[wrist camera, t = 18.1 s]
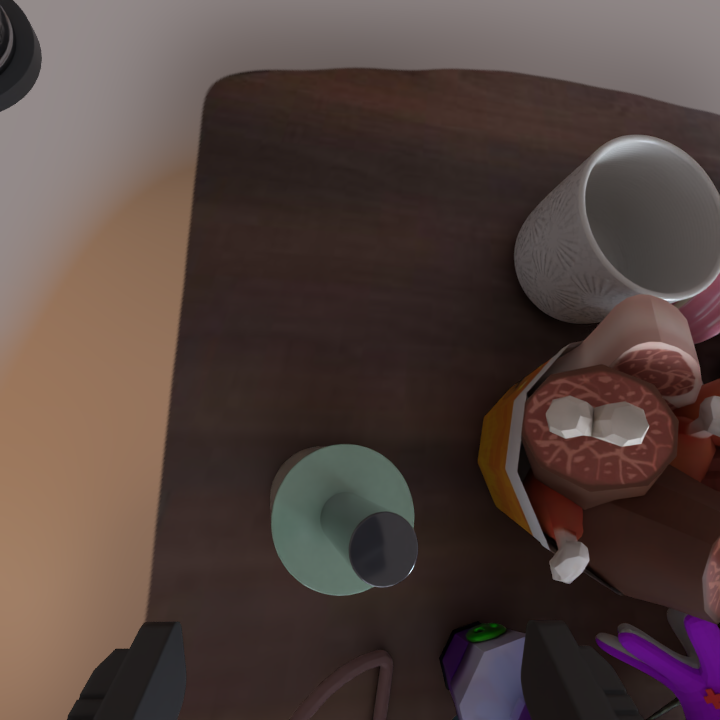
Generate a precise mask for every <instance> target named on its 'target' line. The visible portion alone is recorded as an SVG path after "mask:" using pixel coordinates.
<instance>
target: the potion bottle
mask: <svg viewBox="0 0 720 720" xmlns="http://www.w3.org/2000/svg"><path fill="white" fill-rule="evenodd" d="M525 635H526V634H525V633H521V632H517V631H514V630H510V629H506V628H505V627H504V626H503V625H501V624H497V623H483V624H482V623H480V622H479V621H477V622H474V623H472V624H469V625H466V626H463V627H461V628H458V629H455V630H453V631H452V633H451V635H450V637H449V639H448V641H447V643H446V645H445V647H444V649H443V651H442V654H441V656H440V658H439V659H440V664H441V668H442V672H443V677H444V681H445V686H446V689H448V690H449V691H450V693H451V696H452V698H453V701H454V704H455V707H456V712H457V716H458V720H531V717H530V714H529V712H528V709H527V706H526V703H525V700H524V696H523V692H522V686H521V665H522V657H523V650H524V642H525Z"/></svg>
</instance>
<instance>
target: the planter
mask: <svg viewBox="0 0 720 720" xmlns="http://www.w3.org/2000/svg"><path fill="white" fill-rule="evenodd" d="M514 264H515V270H516V274H517V277H518V280H519V282H520V285H521V287H522V289H523V290H524V292H525V294H526V295H527V296H528V298H529V299H530V300H531V301H532V302H533V303H534V304H535V305H536V306H537V307H538V308H539V309H540V310H541V311H543V312H544V313H546V314H547V315H549V316H551V317H553V318H555V319H558V320H560V321H564V322H568V323H574V324H590V323H598V322H602V321H603V319H604V318H605V317H606V316H607V315H608V314H609V313H610V311H611V310H612V309H613V308H614V307H615V306H616V305H617V304H619V303H620V302H622V301H623V300H625V299H626V298H628V297H632V296H635V295H638V294H645V295H652V296H655V297H658V298H661V299H664V300H666V301H667V302H669V303H670V304H671V303H674V302H677V301H681V300H684V299H688V298H690V297H693V296H695V295H697V294H699V293H701V292H702V291H703V290H705V289H706V288H707V287H708V286H710V285H711V284H712V282H713V281H714V280H715V279H716V277H717V276H718V274H719V273H720V195H719V193H718V191H717V189H716V187H715V185H714V184H713V182H712V181H711V179H710V178H709V176H708V175H707V174H706V172H705V171H704V170H703V169H702V167H701V166H700V165H699V164H698V163H697V162H696V161H695V160H694V159H693V158H692V157H691V156H689V155H688V154H687V153H686V152H684V151H683V150H681V149H680V148H678V147H677V146H675V145H673V144H671V143H669V142H667V141H665V140H662V139H659V138H656V137H652V136H647V135H626V136H621V137H618V138H615V139H612V140H610V141H609V142H607V143H605V144H604V145H602V146H601V147H599V148H598V149H597V150H596V151H595V152H594V153H593V154H592V155H591V156H590V157H588V158H587V159H586V160H585V161H584V162H583V163H582V164H581V165H580V166H579V167H577V168H576V169H575V170H574V171H573V172H572V173H571V174H570V175H569V176H568V177H566V178H565V179H564V180H563V181H562V182H561V183H560V184H559V185H558V186H557V187H556V188H555V189H553V190H552V191H551V192H550V193H549V194H548V195H547V196H546V197H545V198H544V199H543V200H542V201H541V202H540V203H539V204H538V205H537V207H536V208H535V209H534V210H533V211H532V213H531V214H530V215H529V216H528V217H527V219H526V220H525V222H524V224H523V225H522V227H521V229H520V231H519V233H518V236H517V239H516V243H515V249H514Z"/></svg>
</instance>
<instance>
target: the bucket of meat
mask: <svg viewBox="0 0 720 720" xmlns="http://www.w3.org/2000/svg"><path fill="white" fill-rule="evenodd" d="M478 464H479V467H480V469H481V472H482V474H483V477H484V479H485V481H486V484H487V486H488V489H489V491H490V494H491V496H492V498H493V501H494V503H495V506H496V507H497V508H498V509H500V510H501V511H502V512H503V513H505V514H506V515H507V516H508V517H510V518H511V519H512V520H513V521H515V522H516V523H517V524H518V525H520V526H521V527H522V528H523V529H525V530H526V531H527V532H528V533H530V534H531V535H532V536H533V537H535V538H536V539H537V540H538V541H540V543H541V545H542V546H544V547H545V548H547V549H548V550H549V551H551V552H553V553H554V554H555V555H554V556H553V558H552V559H551V560H550V561H549V563H550V568H551V572H552V577H553V580H557V581H561V582H564V583H568V584H570V583H571V582H572V581H574V580H575V579H576V578H577V577H578V576H579V575H580V574H581V573H582V572H584V573H585V574H587V575H588V576H590V577H591V578H593V579H595V580H596V581H598V582H599V583H601V584H602V585H604V586H606V587H607V588H609V589H610V590H612V591H613V592H615V593H616V594H618V595H626V596H630V597H634V598H637V599H641V600H645V601H648V602H652V603H656V604H659V605H663V606H666V607H669V608H672V609H674V610H677V611H680V612H683V613H686V614H688V615H691V616H694V617H697V618H700V619H702V620H705V621H708V622H711V623H714V624H717V625H718V624H719V622H720V379H717V380H714V381H712V382H709V383H707V384H703V382H702V380H701V372H700V365H699V361H698V358H697V354H696V350H695V347H694V343H693V340H692V336H691V332H690V329H689V325H688V322H687V319H686V318H685V317H684V316H683V314H682V313H681V312H680V311H679V310H678V308H676V307H675V306H673V305H672V304H670V303H669V302H667V301H666V300H664V299H661V298H658V297H655V296H652V295H645V294H638V295H635V296H632V297H628V298H626V299H625V300H623V301H622V302H620V303H619V304H617V305H616V306H615V307H614V308H613V309H612V310H611V311H610V313H609V314H608V315H607V316H606V317H605V318H604V319H603V321H602V322H601V323H600V324H599V325H598V326H597V327H596V328H595V330H594V331H593V332H592V333H591V334H590V335H589V336H588V337H587V338H586V339H585V340H584V341H580V342H574V343H570V344H569V345H567V346H565V347H564V348H562V349H561V350H560V351H559V352H558V353H557V354H556V355H555V356H554V357H552V358H551V359H550V360H548V361H547V362H545V363H544V364H543V365H541V366H540V367H539V368H537V369H536V370H534V371H533V372H532V373H530V374H529V375H528V376H526V377H525V378H523V379H522V380H521V381H519V382H518V383H517V384H515V385H514V386H512V387H511V388H510V389H509V390H508V391H507V392H506V393H505V394H504V396H503V397H502V398H501V399H500V400H499V401H498V402H497V403H496V404H495V406H494V407H493V408H492V409H491V410H490V411H489V412H488V413H487V414H486V415H485V417H484V419H483V427H482V434H481V441H480V448H479V455H478Z"/></svg>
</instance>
